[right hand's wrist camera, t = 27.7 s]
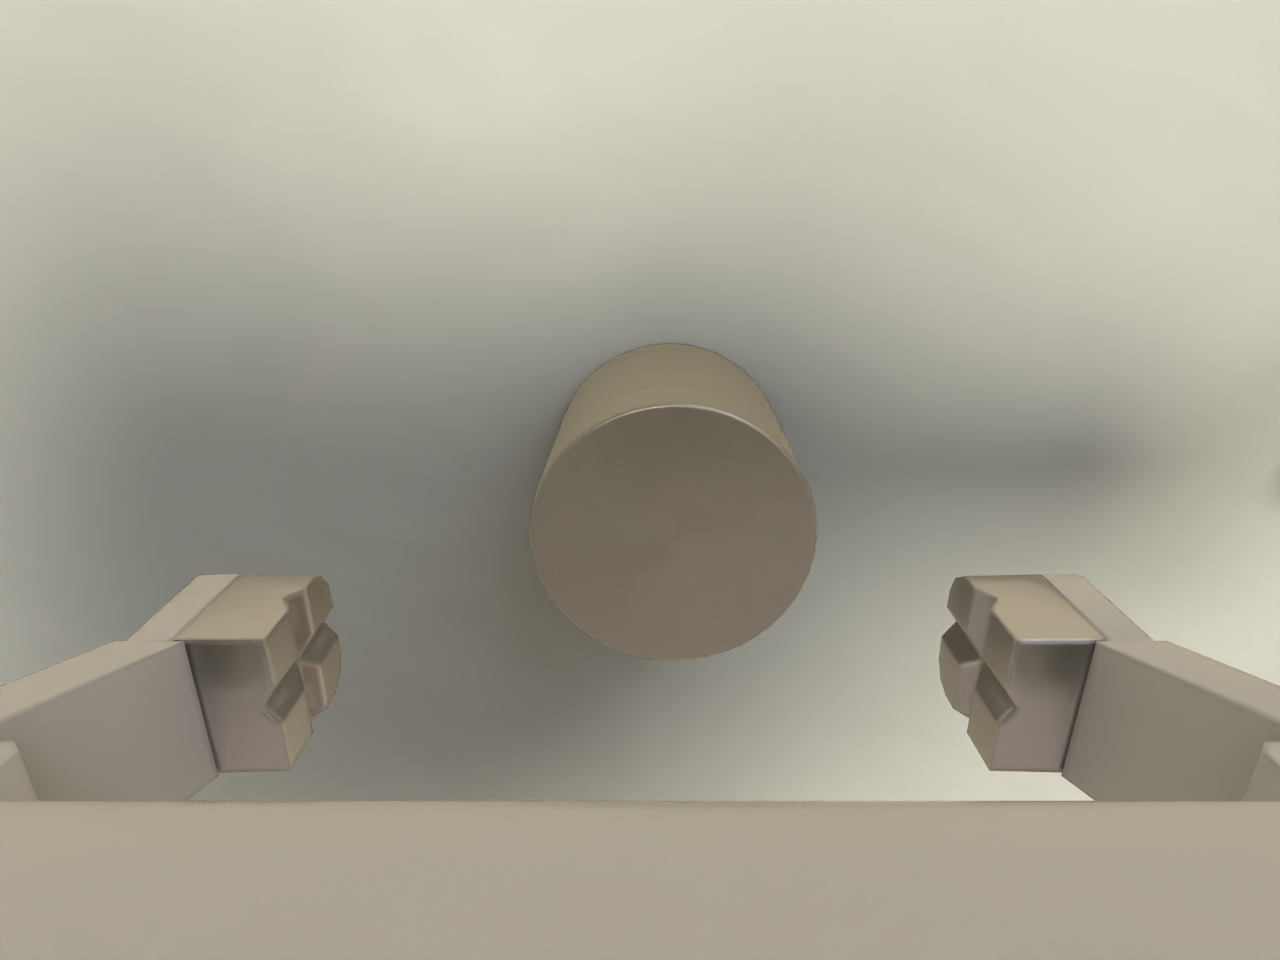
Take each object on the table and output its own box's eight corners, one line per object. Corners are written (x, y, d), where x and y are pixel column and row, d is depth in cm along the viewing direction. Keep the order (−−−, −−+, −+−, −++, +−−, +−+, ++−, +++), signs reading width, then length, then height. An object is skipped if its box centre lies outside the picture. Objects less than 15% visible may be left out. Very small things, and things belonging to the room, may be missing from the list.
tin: (798, 519, 17) (842, 627, 13) (596, 570, 18) (579, 687, 14) (750, 315, 16) (783, 366, 12) (529, 377, 16) (488, 447, 12)
